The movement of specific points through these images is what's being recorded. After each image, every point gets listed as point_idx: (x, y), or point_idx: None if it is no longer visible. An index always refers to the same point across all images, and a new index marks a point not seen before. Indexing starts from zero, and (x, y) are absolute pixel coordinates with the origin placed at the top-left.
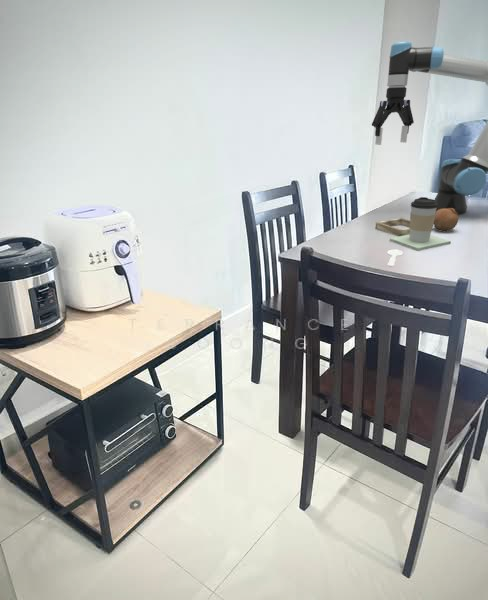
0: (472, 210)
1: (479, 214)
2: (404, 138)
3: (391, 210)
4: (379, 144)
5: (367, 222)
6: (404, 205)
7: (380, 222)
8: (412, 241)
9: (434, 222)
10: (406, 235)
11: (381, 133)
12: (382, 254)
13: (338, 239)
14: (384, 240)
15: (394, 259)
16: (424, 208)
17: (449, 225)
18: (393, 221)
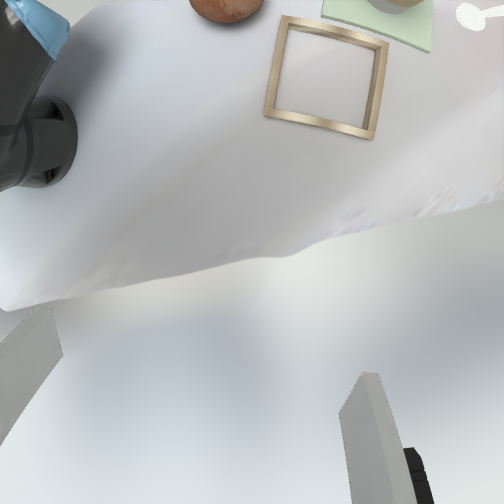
0: None
1: None
2: (34, 340)
3: (150, 243)
4: (378, 378)
5: (327, 198)
6: (83, 255)
7: (362, 130)
8: None
9: (262, 2)
10: (381, 29)
11: (396, 464)
12: (492, 35)
13: (490, 156)
14: (433, 64)
15: (492, 9)
16: None
17: None
18: (308, 116)
